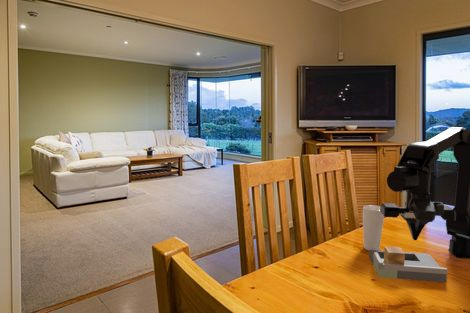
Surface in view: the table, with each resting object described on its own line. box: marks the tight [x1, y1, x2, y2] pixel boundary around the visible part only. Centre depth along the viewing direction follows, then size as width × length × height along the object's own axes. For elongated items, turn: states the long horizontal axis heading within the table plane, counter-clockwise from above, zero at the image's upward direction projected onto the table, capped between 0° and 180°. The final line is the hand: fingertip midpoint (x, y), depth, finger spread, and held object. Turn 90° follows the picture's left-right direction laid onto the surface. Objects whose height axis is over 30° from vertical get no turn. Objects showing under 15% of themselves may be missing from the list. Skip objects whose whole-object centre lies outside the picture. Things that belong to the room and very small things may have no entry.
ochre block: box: [383, 246, 405, 265], centre depth 101 cm, size 4×4×4 cm
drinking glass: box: [362, 204, 385, 252], centre depth 117 cm, size 7×7×15 cm
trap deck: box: [368, 249, 448, 283], centre depth 103 cm, size 18×14×4 cm
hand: (414, 239), depth 99 cm, fingers closed
